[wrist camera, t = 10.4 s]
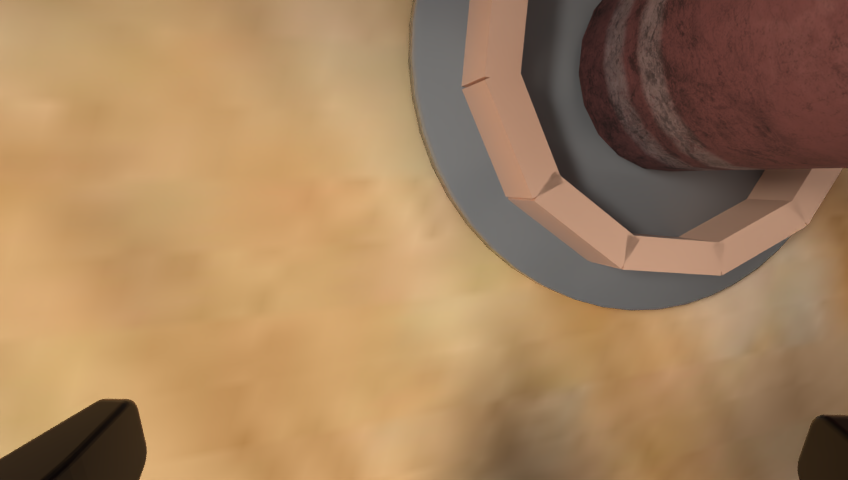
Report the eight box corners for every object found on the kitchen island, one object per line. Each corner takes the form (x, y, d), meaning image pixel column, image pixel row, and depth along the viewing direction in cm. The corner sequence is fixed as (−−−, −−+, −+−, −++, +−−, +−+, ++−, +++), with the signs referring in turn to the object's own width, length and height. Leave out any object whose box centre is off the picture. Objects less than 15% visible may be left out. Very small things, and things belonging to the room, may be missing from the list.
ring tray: (678, 389, 21) (734, 417, 19) (299, 113, 17) (307, 102, 15) (902, 28, 23) (983, 10, 20) (604, -318, 18) (660, -396, 16)
